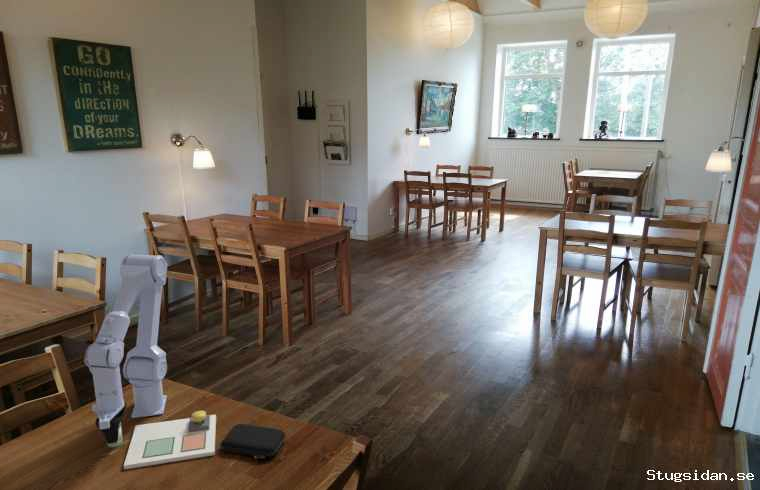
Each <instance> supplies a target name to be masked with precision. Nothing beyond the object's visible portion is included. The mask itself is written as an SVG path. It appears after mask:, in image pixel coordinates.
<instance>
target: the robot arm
mask: <svg viewBox="0 0 760 490" xmlns="http://www.w3.org/2000/svg"><path fill="white" fill-rule="evenodd" d="M167 271H168V263H167V261H166V259H165V258H164V256H163V255H160V254H159V255H157V254H156V255H154V254H153V255H151V254H150V255H149V254H136V253H135V254H134V253H127V254H125V255H124V257H123V258H122V260H121V263H120V268H119V274H120V276H121V278H122V279H121V282H120V286H119V288H118V292H117V296H116V299H115V302H114V307H113V309H112V311H110V312H108V313H107V314H105V317H104V319H103V321H102V324H101V326H100V329H99V331H98V334H97V336H96V339H95V341H94V342H93V343H92V344H90V345H89V346H88V347H87V348H86V351H85V356H84V359H83V360H84V364H85V365H86V366H87V367H88V369H89V372H90V373H91V374H92V378H93V387H94V396H95V401H96V404H93V405H92V407H91V412H96V414H97V418H96V419H95V421H94V422H95V427H96V428H98V429H99V430H100V431H101V433H102V434H103V436H104V439H105V440H106V443H108V444H110V443H117V441H118V435H119V425H120V422H121V429H122V428H123V427H122V426H123V417H124V413H125V410H126V408H127V404H128V403H127V402H126V401H125V400H124V394H123V386H122V377H121V368H120V364H121V362H122V360H123V358H124V353H125V352H124V351H125V350H124V347H125V343H124V341H125V337H126V335H127V332H128V328H129V326H130V324H131V319H130V317H129V313H130V311H131V309H132V307H133V305H134V303H135V300H136V298H137V296H138V294H139V292H140V291H141V293H140V301H139V302H140V303H139V312H138V313H139V314H138V323H137V334H136V343H135V347H133V348H132V349H130V350H129V351H128V352H127V353H126V358H125V362H124V365H123V367H122V372H123V377H124V378H125V379H126V380H128V381H129V384H131V385H132V396H133V404H134V407H133V410H132V413H131V419H135V418H136V419H137V418H143V417H144V418H145V417H149V416H150V417H151V416H161V415H163V414H164V411H165V407H166V402H167V397H168V395H167V394H164V391H163V389H164V388H163V379H164V378H165V376H166V374H167V372H168V371H167V370H168V363H167V353H166V351H164V350H163V349H161V348H160V346H158V337H159V328H160V327H159V325H160V316H161V304H162V293H163V286H165V285H166V284H167V283H166V282H167V274H168V273H167Z"/></svg>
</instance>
